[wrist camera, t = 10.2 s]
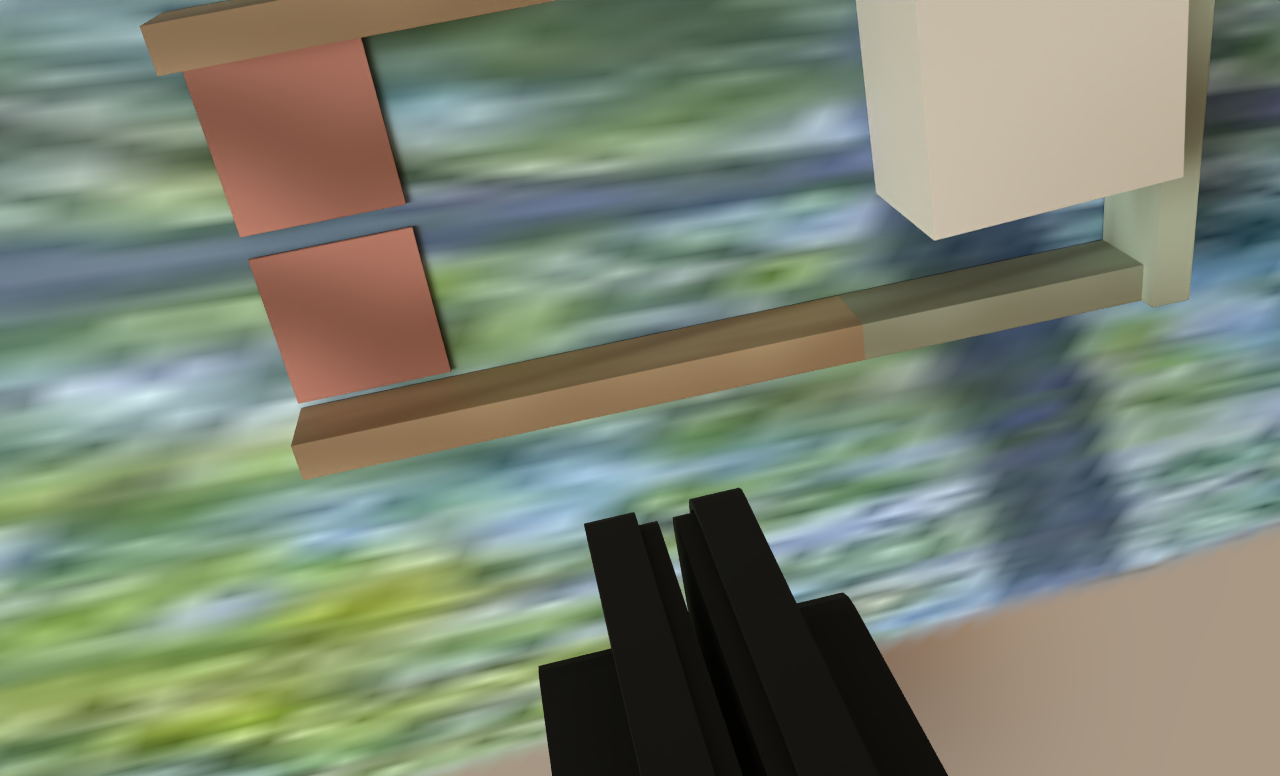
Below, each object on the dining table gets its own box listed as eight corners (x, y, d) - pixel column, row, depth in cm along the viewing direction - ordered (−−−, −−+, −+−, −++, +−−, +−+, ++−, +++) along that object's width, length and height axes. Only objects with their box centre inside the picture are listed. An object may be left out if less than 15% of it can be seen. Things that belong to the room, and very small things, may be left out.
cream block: (847, -51, 26) (911, -34, 22) (1090, -110, 26) (1192, -103, 22) (873, 191, 28) (934, 240, 25) (1092, 135, 29) (1183, 177, 25)
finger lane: (163, 12, 24) (132, 30, 22) (1161, -174, 25) (1230, -175, 23) (312, 440, 29) (300, 490, 27) (1135, 266, 30) (1189, 299, 28)
